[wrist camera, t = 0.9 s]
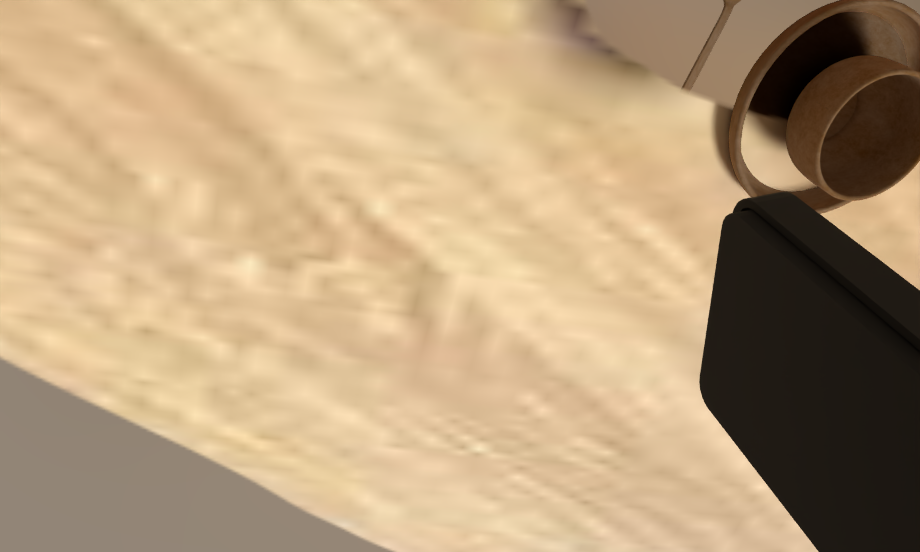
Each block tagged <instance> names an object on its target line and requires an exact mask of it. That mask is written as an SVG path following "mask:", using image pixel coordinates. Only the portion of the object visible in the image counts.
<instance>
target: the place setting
mask: <svg viewBox="0 0 920 552" xmlns="http://www.w3.org/2000/svg"><path fill="white" fill-rule="evenodd" d="M723 1H724V7H723V10H722V13H721V15H720V17H719V19H718V21H717V23H716V24H715V26H714V28H713V30H712V32H711V34H710V36H709V38H708V39H707V41H706V43H705V45H704V47H703V49H702V50H701V52H700V54H699V56H698V58H697V60H696V62H695V63H694V65H693V67H692V69H691V71H690V73H689V75H688V77H687V78H686V80H685V82H684V84H683V86H682V88H681V89H682V90H685V91H687V92H688V93H690V91H691V89H692V87H693V85H694V83H695V81H696V79H697V77H698V76H699V74H700V72H701V70H702V68H703V66H704V64H705V62H706V60H707V58H708V56H709V55H710V53H711V51H712V49H713V47H714V45H715V43H716V41H717V39H718V38H719V36H720V34H721V32H722V30H723V28H724V26H725V24H726V22H727V20H728V18H729V16H730V14H731V12H732V10H733V7H734V6H735V5H736V4H737V3H738V2H740V1H741V0H723ZM747 112H748V113H753V114H758V115H762V116H766V117H769V118H774V119H783V120H787V121H788V123H787V128H786V144H787V149H788V153H789V156H790V158H791V160H792V162H793V163H794V165H795V166H796V168H797V169H798V170H799V171H800V172H801V173H802V174H803V175H804V176H805V177H806V178H807V179H809V180H810V181H811V182H813V183H814V184H815V185H817V186H818V187H817V188H814V189H810V190H805V191H797V192H790V193H792V194H794V195H795V196H797V197H798V198H799V199H801V200H802V201H803V202H805V203H806V204H807V205H808V206H810V207H811V208H812V209H814V210H815V211H816V212H818V213H819V214H821V213H825V212H828V211H831V210H834V209H837V208H839V207H841V206H843V205H845V204H847V203H849V202H851V201H856V200H863V199H867V198H870V197H873V196H876V195H878V194H880V193H882V192H884V191H886V190H888V189H889V188H891V187H892V186H894V185H895V184H897V183H898V182H899V181H901V180H902V179H903V178H904V177H905V176H906V175H907V174H908V173H909V172H910V171H911V170H912V169H913V168H914V167H915V166H916V165H917V164H918V162H919V161H920V15H919V14H918V13H917V12H916V11H915V10H913V9H911V8H909V7H908V6H906V5H904V4H902V3H899V2H896V1H893V0H839V1H836V2H834V3H830V4H827V5H825V6H823V7H820V8H818V9H816V10H814V11H812V12H811V13H809V14H807V15H806V16H804V17H802V18H801V19H799V20H798V21H796V22H795V23H794V24H792V25H791V26H790V27H788V28H787V29H786V30H785V31H783V32H782V33H781V34H780V35H779V36H778V37H777V38H776V39H775V40H774V41H773V42H772V43H771V44H770V45H769V46H768V48H767V49H766V50H765V51H764V52H763V53H762V55H761V56H760V57H759V59H758V60H757V61H756V63H755V64H754V66H753V67H752V69H751V71H750V72H749V74H748V76H747V77H746V79H745V81H744V83H743V85H742V87H741V89H740V92H739V94H738V97H737V99H736V103H735V105H734V108H733V112H732V117H731V121H730V130H729V152H730V158H731V163H732V166H733V169H734V172H735V175H736V177H737V179H738V180H739V182H740V184H741V186H742V187H743V188H744V190H745V191H746V192H747V193H748V195H749V196H750V197H757V196H762V195H767V194H772V193H777V192H788V191H780V190H775V189H773V188H770V187H768V186H766V185H764V184H763V183H761V182H759V181H758V180H757V179H756V178H755V177H754V176H753V175H752V174H751V172H750V171H749V170H748V168H747V166H746V164H745V162H744V160H743V157H742V154H741V137H742V129H743V124H744V120H745V116H746V113H747Z"/></svg>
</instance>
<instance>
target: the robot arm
mask: <svg viewBox="0 0 920 552" xmlns="http://www.w3.org/2000/svg"><path fill="white" fill-rule="evenodd" d="M700 390H701V394H702V397H703V400H704V402H705V404H706V406H707V407H708V409H709V410H710V411H711V413H712V414H713V415H714V417H715V418H716V419H717V420H718V422H719V423H720V424H721V426H722V427H723V428H724V429H725V431H726V432H727V433H728V435H729V436H730V437H731V439H732V440H733V441H734V442H735V444H736V445H737V446H738V448H739V449H740V450H741V452H742V453H743V454H744V455H745V457H746V458H747V459H748V461H749V462H750V463H751V464H752V466H753V467H754V468H755V470H756V471H757V472H758V474H759V475H760V476H761V477H762V479H763V480H764V481H765V483H766V484H767V485H768V487H769V488H770V489H771V490H772V492H773V493H774V494H775V496H776V497H777V498H778V499H779V501H780V502H781V503H782V505H783V506H784V507H785V509H786V510H787V511H788V512H789V514H790V515H791V516H792V518H793V519H794V520H795V521H796V523H797V524H798V525H799V527H800V528H801V529H802V531H803V532H804V533H805V534H806V536H807V537H808V538H809V540H810V541H811V542H812V544H813V545H814V546H815V547H816V549H817V550H818V551H819V552H920V290H918V289H917V288H916V287H914V286H913V285H912V284H910V283H909V282H908V281H906V280H905V279H904V278H903V277H901V276H900V275H899V274H897V273H896V272H895V271H893V270H892V269H891V268H889V267H888V266H887V265H886V264H884V263H883V262H882V261H880V260H879V259H878V258H876V257H875V256H874V255H872V254H871V253H870V252H869V251H867V250H866V249H865V248H863V247H862V246H861V245H859V244H858V243H857V242H855V241H854V240H853V239H852V238H850V237H849V236H848V235H846V234H845V233H844V232H842V231H841V230H840V229H838V228H837V227H836V226H835V225H833V224H832V223H831V222H829V221H828V220H827V219H825V218H824V217H823V216H822V215H820V214H819V213H818V212H816V211H815V210H814V209H812V208H811V207H810V206H808V205H807V204H806V203H805V202H803V201H802V200H801V199H799V198H798V197H797V196H795V195H794V194H792V193H790V192H777V193H772V194H767V195H762V196H757V197H752V198H747V199H743V200H741V201H739V202H738V203H737V205H736V206H735V208H734V210H733V213H731V214H729V215H727V216H726V217H725V219H724V221H723V224H722V229H721V236H720V243H719V250H718V256H717V263H716V270H715V277H714V284H713V291H712V297H711V304H710V311H709V318H708V325H707V331H706V338H705V345H704V352H703V359H702V366H701V372H700Z"/></svg>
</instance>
